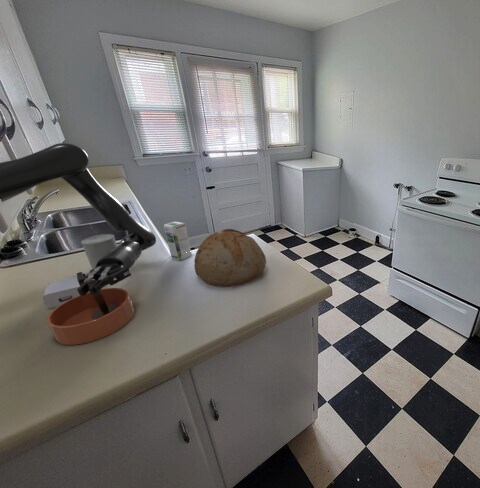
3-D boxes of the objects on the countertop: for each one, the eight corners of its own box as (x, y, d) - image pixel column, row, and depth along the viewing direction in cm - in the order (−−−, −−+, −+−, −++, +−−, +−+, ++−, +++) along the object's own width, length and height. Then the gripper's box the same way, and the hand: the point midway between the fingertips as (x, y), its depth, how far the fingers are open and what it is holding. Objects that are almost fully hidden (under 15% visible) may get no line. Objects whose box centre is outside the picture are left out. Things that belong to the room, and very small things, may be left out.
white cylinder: (124, 260, 109) (114, 232, 104) (124, 270, 101) (113, 240, 97) (94, 267, 104) (82, 237, 99) (92, 277, 97) (79, 246, 92)
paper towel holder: (88, 325, 72) (68, 288, 67) (99, 309, 78) (81, 274, 72) (115, 321, 74) (98, 284, 68) (124, 305, 79) (109, 271, 74)
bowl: (44, 354, 64) (34, 336, 62) (67, 313, 78) (59, 297, 76) (130, 330, 71) (124, 314, 69) (137, 297, 85) (132, 282, 83)
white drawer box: (91, 278, 96) (87, 298, 85) (57, 286, 91) (47, 309, 80) (86, 266, 94) (81, 285, 83) (51, 274, 89) (40, 295, 78)
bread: (189, 266, 104) (181, 230, 98) (247, 250, 116) (243, 217, 110) (208, 298, 84) (199, 255, 78) (275, 275, 97) (272, 237, 91)
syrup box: (170, 258, 110) (162, 225, 104) (183, 252, 115) (175, 220, 109) (180, 261, 108) (172, 227, 102) (192, 255, 113) (185, 222, 107)
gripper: (88, 253, 81) (47, 282, 65) (139, 248, 84) (111, 276, 68) (97, 274, 84) (60, 308, 68) (145, 269, 87) (121, 300, 71)
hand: (86, 291), depth 68 cm, fingers closed on paper towel holder
